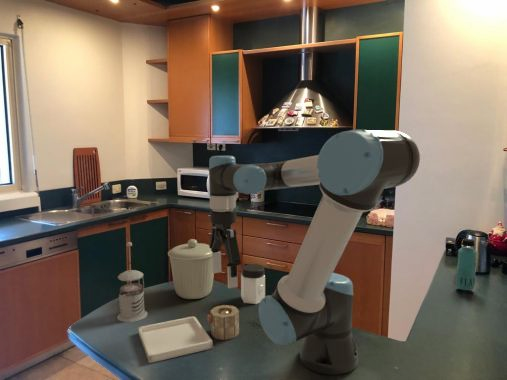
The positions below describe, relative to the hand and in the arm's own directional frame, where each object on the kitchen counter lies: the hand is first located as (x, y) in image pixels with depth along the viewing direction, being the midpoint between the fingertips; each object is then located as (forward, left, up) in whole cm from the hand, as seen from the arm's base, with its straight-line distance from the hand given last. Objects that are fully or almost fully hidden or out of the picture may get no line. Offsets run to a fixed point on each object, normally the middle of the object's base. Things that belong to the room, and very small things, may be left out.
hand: (224, 279), depth 120 cm
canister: (+33, 0, -17) cm, 37 cm away
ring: (0, 0, -17) cm, 17 cm away
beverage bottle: (-8, -94, -17) cm, 96 cm away
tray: (+2, +15, -17) cm, 23 cm away
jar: (+19, -18, -17) cm, 31 cm away
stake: (0, 0, -17) cm, 17 cm away
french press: (+25, +23, -17) cm, 38 cm away
